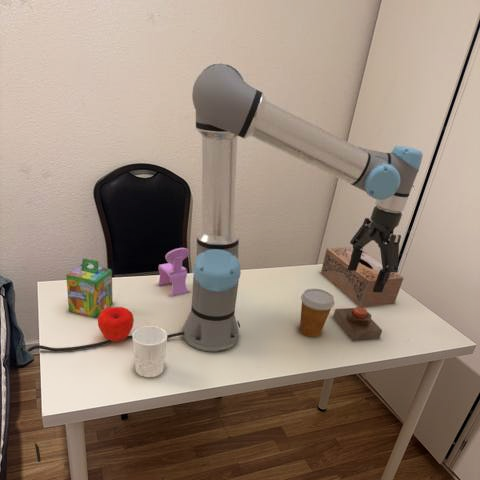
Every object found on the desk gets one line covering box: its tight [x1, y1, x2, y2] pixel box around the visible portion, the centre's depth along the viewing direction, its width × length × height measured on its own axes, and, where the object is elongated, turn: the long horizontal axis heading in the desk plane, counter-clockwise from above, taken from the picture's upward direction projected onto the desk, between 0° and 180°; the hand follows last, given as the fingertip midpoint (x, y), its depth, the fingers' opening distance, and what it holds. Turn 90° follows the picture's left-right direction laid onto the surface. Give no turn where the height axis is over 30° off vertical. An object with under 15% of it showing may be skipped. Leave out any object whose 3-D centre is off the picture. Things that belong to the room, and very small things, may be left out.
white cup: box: [131, 325, 168, 378], centre depth 103 cm, size 8×8×10 cm
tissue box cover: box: [320, 246, 404, 308], centre depth 155 cm, size 26×14×10 cm, turn 22°
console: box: [332, 307, 383, 342], centre depth 132 cm, size 9×13×5 cm
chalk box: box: [65, 258, 114, 319], centre depth 122 cm, size 9×9×15 cm
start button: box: [353, 306, 369, 318], centre depth 131 cm, size 4×4×2 cm
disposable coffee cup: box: [299, 288, 335, 338], centre depth 126 cm, size 10×10×12 cm
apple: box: [97, 306, 135, 342], centre depth 113 cm, size 9×9×8 cm
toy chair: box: [157, 247, 190, 297], centre depth 137 cm, size 8×9×15 cm
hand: (363, 280), depth 126 cm, fingers open, 13 cm apart
